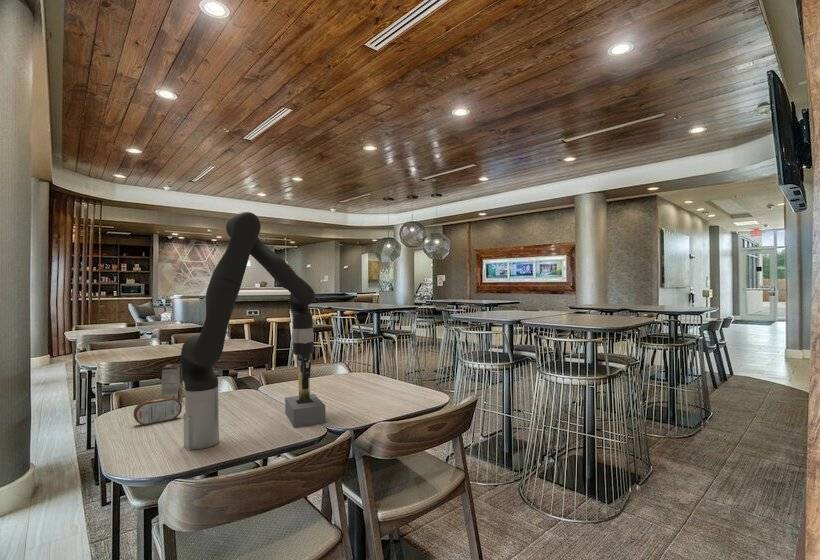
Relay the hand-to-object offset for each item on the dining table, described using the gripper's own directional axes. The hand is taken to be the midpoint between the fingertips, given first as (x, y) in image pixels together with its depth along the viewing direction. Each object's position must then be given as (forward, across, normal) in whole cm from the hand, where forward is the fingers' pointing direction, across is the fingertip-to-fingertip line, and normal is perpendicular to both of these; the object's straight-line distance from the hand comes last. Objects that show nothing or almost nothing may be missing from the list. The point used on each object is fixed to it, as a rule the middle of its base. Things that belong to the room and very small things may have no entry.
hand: (304, 387), depth 154 cm
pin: (+4, 0, 0) cm, 4 cm away
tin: (+11, -21, -48) cm, 54 cm away
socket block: (+11, 0, 0) cm, 11 cm away
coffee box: (+11, -47, -46) cm, 66 cm away
